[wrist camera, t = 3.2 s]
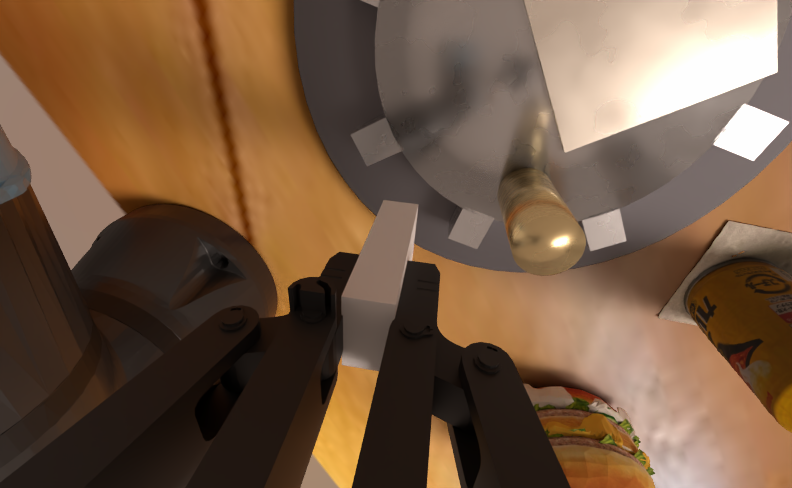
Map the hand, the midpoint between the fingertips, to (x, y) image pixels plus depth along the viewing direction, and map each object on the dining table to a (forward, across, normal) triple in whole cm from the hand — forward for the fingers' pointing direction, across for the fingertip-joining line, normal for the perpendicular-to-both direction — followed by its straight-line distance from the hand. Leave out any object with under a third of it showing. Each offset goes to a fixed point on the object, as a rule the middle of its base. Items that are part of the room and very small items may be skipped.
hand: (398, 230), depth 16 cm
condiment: (+10, +23, -6) cm, 26 cm away
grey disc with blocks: (+8, +6, +7) cm, 13 cm away
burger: (+10, +15, -24) cm, 30 cm away
